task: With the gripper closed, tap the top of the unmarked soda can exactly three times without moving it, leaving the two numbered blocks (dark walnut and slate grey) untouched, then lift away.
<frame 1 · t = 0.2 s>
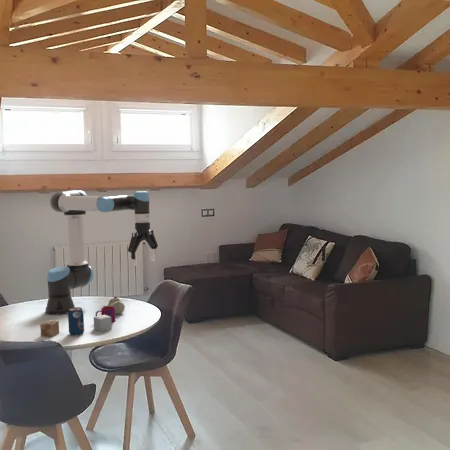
hand: (143, 263, 290), 28 cm above the table, fingers open, 13 cm apart
slate numbered block: (102, 329, 272), on the table
soda can: (76, 334, 265), on the table
mug: (105, 322, 285), on the table
walnut numbered block: (50, 335, 264), on the table
ceramic sculpture: (115, 312, 304), on the table
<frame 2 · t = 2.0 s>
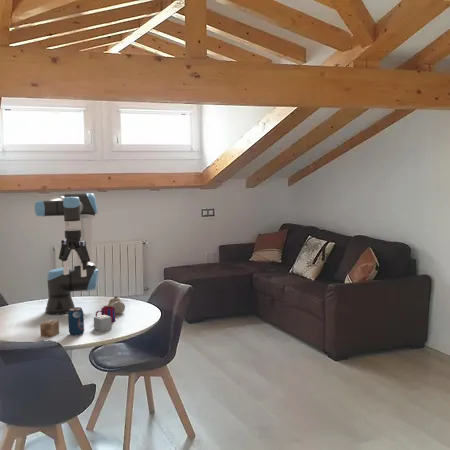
hand: (74, 275, 270), 26 cm above the table, fingers open, 11 cm apart
nothing on the table moved.
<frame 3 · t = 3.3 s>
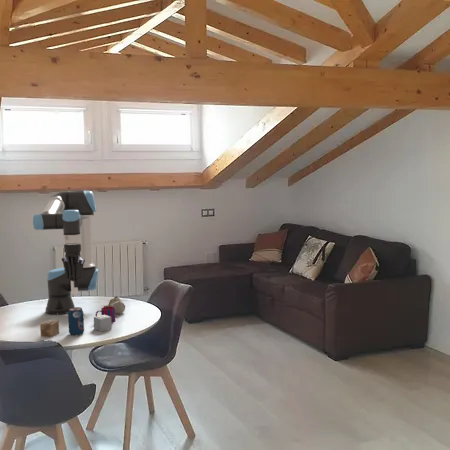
hand: (74, 294, 263), 19 cm above the table, fingers closed
nothing on the table moved.
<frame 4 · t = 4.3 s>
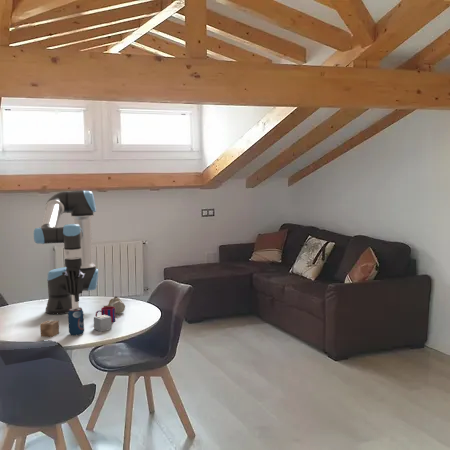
hand: (75, 308, 263), 12 cm above the table, fingers closed
soda can: (76, 334, 265), on the table, touching gripper
everything else where it was.
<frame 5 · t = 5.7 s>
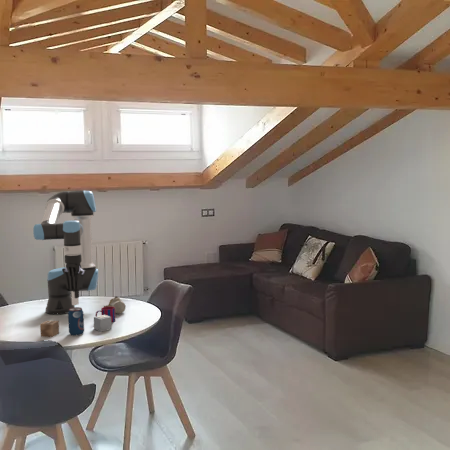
hand: (75, 304, 263), 14 cm above the table, fingers closed
soda can: (76, 334, 265), on the table
everything else where it was.
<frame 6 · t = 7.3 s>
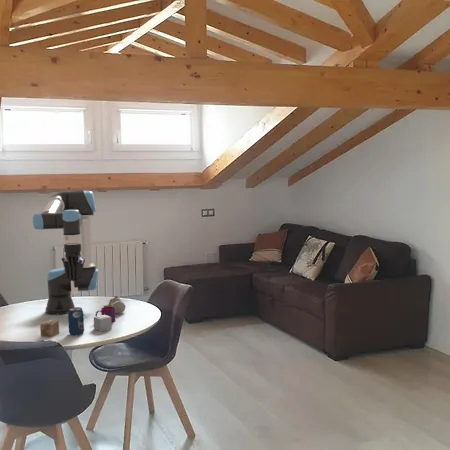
hand: (74, 294, 263), 19 cm above the table, fingers closed
nothing on the table moved.
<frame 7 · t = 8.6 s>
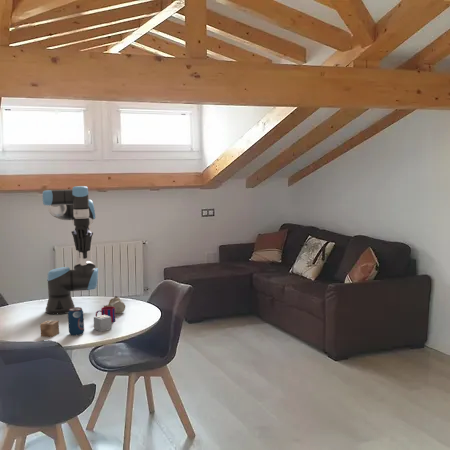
hand: (83, 264, 283), 29 cm above the table, fingers closed
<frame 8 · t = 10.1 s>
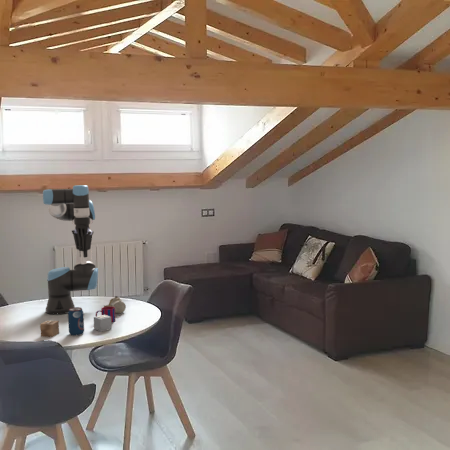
hand: (84, 263, 283), 29 cm above the table, fingers closed
at the end: soda can moved 0.2 cm from its start; walnut numbered block moved 0.1 cm from its start; slate numbered block moved 0.1 cm from its start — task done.
